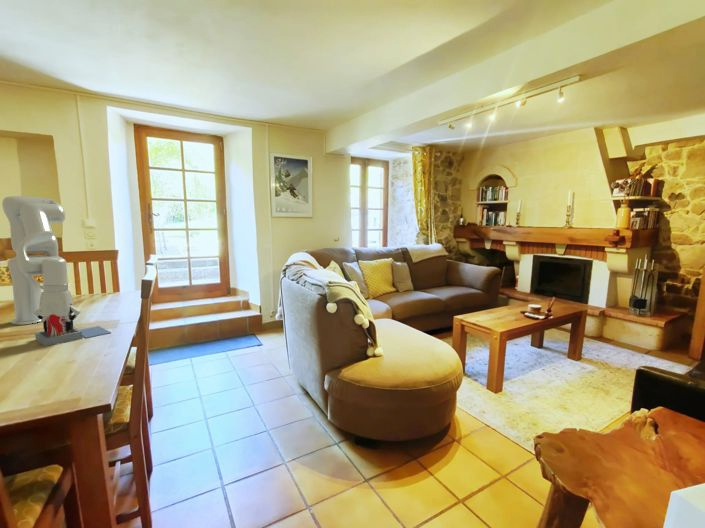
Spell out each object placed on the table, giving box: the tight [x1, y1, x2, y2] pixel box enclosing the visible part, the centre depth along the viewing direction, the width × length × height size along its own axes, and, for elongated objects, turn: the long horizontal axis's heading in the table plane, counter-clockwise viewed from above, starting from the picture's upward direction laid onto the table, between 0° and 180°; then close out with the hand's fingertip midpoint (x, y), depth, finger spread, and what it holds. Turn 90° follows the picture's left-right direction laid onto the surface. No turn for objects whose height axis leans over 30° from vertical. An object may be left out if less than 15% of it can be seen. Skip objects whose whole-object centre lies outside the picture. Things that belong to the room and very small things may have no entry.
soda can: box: [46, 313, 70, 337], centre depth 136 cm, size 7×7×12 cm
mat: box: [79, 325, 112, 339], centre depth 146 cm, size 14×9×1 cm, turn 56°
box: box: [34, 326, 83, 347], centre depth 136 cm, size 12×12×3 cm
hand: (58, 330), depth 136 cm, fingers closed on soda can, 7 cm apart
